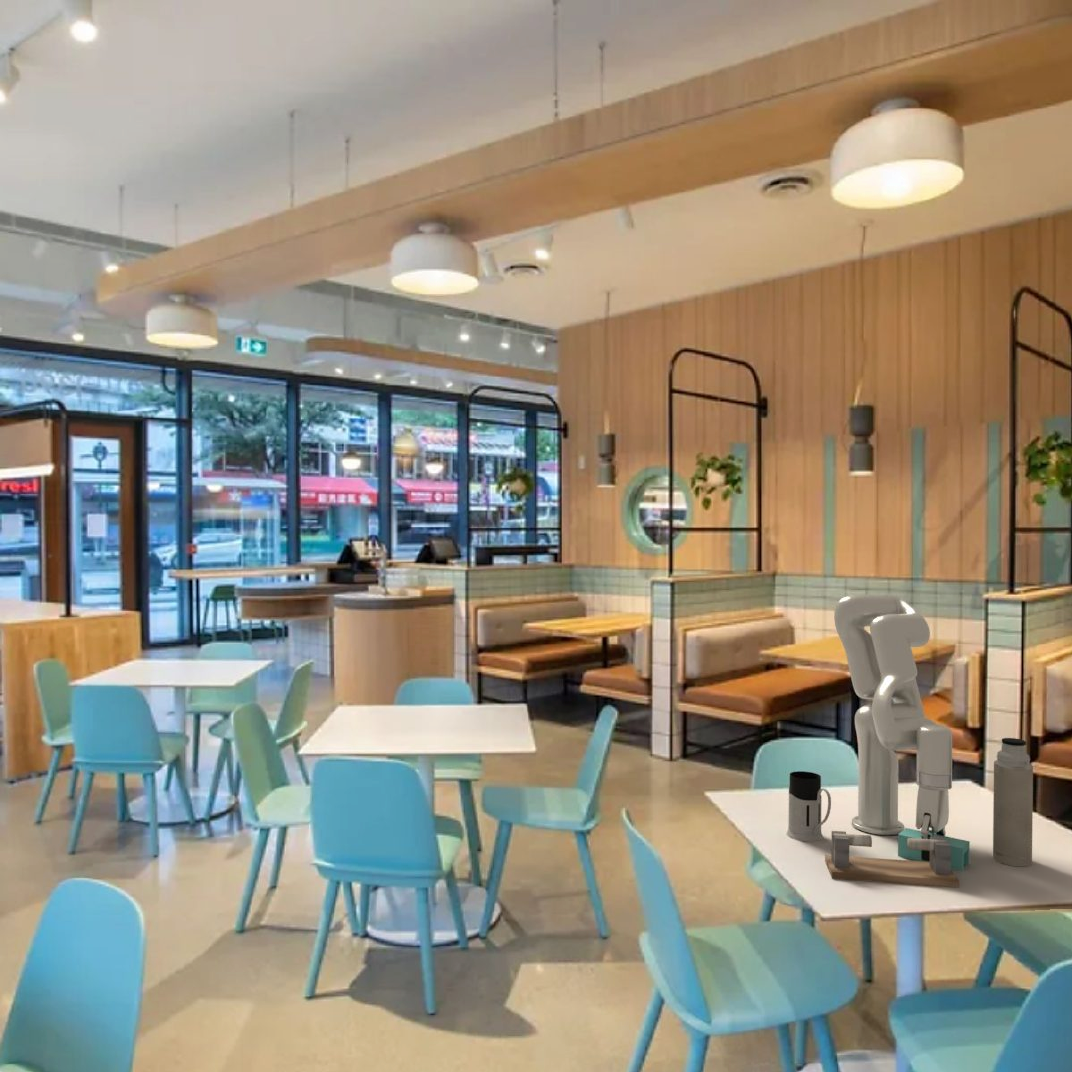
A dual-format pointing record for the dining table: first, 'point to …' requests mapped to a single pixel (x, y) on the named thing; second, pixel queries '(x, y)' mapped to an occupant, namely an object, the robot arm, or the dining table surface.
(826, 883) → the dining table surface
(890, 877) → the shaft stand
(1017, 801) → the thermos bottle
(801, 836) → the glass holder
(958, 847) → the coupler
